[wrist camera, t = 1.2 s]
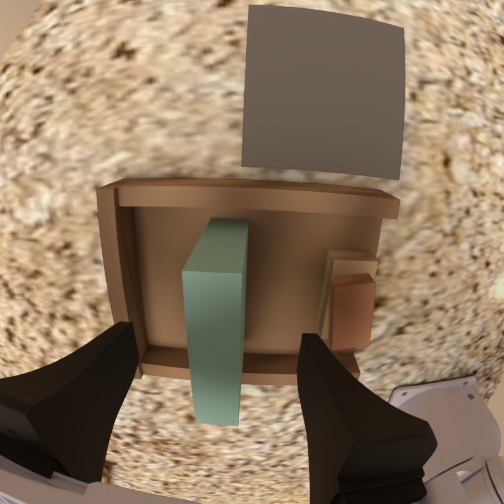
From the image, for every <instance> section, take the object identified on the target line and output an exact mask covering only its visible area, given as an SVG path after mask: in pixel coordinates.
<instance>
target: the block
mask: <svg viewBox="0 0 504 504" xmlns="http://www.w3.org/2000/svg"><path fill="white" fill-rule="evenodd" d="M248 224H249V219H239V218H211V219H210V221H209V223H208V225H207V226H206V228H205V230H204V232H203V234H202V235H201V237H200V239H199V241H198V242H197V244H196V246H195V248H194V250H193V252H192V253H191V255H190V257H189V259H188V261H187V262H186V264H185V266H184V268H183V270H182V280H183V296H184V311H185V324H186V336H187V347H188V357H189V367H190V376H191V385H192V394H193V402H194V410H195V417H196V423H205V424H216V425H230V426H238V422H239V408H240V393H241V379H242V365H243V351H244V333H245V305H246V277H247V250H248Z"/></svg>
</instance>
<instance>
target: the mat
mask: <svg viewBox="0 0 504 504" xmlns="http://www.w3.org/2000/svg"><path fill="white" fill-rule="evenodd" d="M404 111H405V41H404V28H402V27H398V26H394V25H391V24H387V23H383V22H379V21H375V20H370V19H366V18H361V17H356V16H351V15H346V14H340V13H335V12H328V11H321V10H314V9H306V8H296V7H284V6H269V5H249V11H248V30H247V50H246V71H245V93H244V116H243V141H242V167H264V168H282V169H298V170H311V171H323V172H334V173H344V174H354V175H363V176H372V177H380V178H388V179H395V180H399V176H400V167H401V157H402V145H403V131H404Z"/></svg>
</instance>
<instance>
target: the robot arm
mask: <svg viewBox="0 0 504 504" xmlns="http://www.w3.org/2000/svg"><path fill="white" fill-rule="evenodd" d="M139 360H140V357H139V352H138V347H137V342H136V337H135V332H134V327H133V322H125V321H119V322H118V323H116V324H114V325H113V326H112V327H110V328H109V329H107V330H106V331H104V332H103V333H102V334H100V335H99V336H97V337H96V338H94V339H93V340H91V341H90V342H89V343H87V344H85V345H84V346H82V347H81V348H79V349H77V350H76V351H74V352H73V353H71V354H69V355H68V356H66V357H64V358H62V359H60V360H58V361H56V362H54V363H52V364H49V365H47V366H44V367H42V368H39V369H36V370H34V371H31V372H27V373H24V374H20V375H17V376H12V377H7V378H1V379H0V504H201V503H198V502H194V501H189V500H185V499H179V498H173V497H167V496H161V495H156V494H151V493H146V492H141V491H137V490H133V489H129V488H124V487H121V486H117V485H113V484H109V483H104V482H101V481H102V474H103V468H104V463H105V458H106V453H107V449H108V444H109V440H110V437H111V433H112V430H113V426H114V423H115V420H116V417H117V415H118V412H119V410H120V408H121V406H122V404H123V401H124V399H125V397H126V395H127V393H128V390H129V388H130V386H131V384H132V381H133V379H134V377H135V373H136V370H137V367H138V363H139ZM296 370H297V385H298V393H299V398H300V403H301V408H302V413H303V418H304V423H305V428H306V434H307V442H308V457H309V478H310V504H504V458H503V457H502V456H498V454H499V451H500V448H501V432H500V429H499V425H498V424H497V422H496V420H495V418H494V417H493V415H492V414H491V412H490V410H489V409H488V407H487V406H486V404H485V402H484V401H483V399H482V398H481V396H480V395H479V393H478V392H477V390H476V389H475V387H474V386H473V385H474V384H475V382H476V377H475V376H470V377H465V378H460V379H454V380H449V381H443V382H437V383H431V384H424V385H417V386H409V387H401V388H397V389H396V390H395V391H394V392H393V394H392V396H391V399H390V401H389V403H388V402H386V401H385V400H383V399H382V398H380V397H379V396H377V395H376V394H374V393H373V392H372V391H370V390H369V389H368V388H367V387H365V386H364V385H363V384H362V383H360V382H359V381H358V380H357V379H356V378H355V377H354V376H353V375H352V374H351V373H350V372H349V371H348V370H347V369H346V368H345V367H344V366H343V365H342V364H341V363H340V361H339V360H338V359H337V358H336V357H335V356H334V354H333V353H332V352H331V351H330V349H329V348H328V347H327V346H326V344H325V343H324V342H323V340H322V339H321V338H320V336H319V335H318V334H317V333H302V339H301V345H300V351H299V357H298V363H297V369H296Z"/></svg>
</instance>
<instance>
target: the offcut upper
mask: <svg viewBox="0 0 504 504" xmlns="http://www.w3.org/2000/svg"><path fill="white" fill-rule="evenodd" d="M375 286H376V282H375V281H374V280H373V278H372V277H371V275H370V274H369V273H363V274H353V275H344V276H334V277H330V279H329V331H328V339H329V342H330V345H331V349H332V350H339V349H347V348H354V347H361V346H367V345H369V343H370V335H371V327H372V318H373V308H374V298H375Z"/></svg>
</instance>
